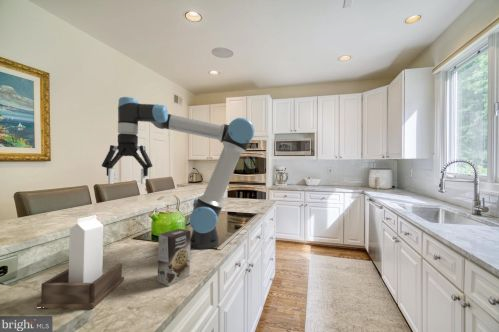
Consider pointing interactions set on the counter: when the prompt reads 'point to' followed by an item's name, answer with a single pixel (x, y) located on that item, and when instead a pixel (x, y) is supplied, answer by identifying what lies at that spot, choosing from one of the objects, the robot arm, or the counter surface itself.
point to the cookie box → (173, 256)
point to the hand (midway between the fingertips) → (127, 183)
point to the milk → (86, 250)
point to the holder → (79, 290)
